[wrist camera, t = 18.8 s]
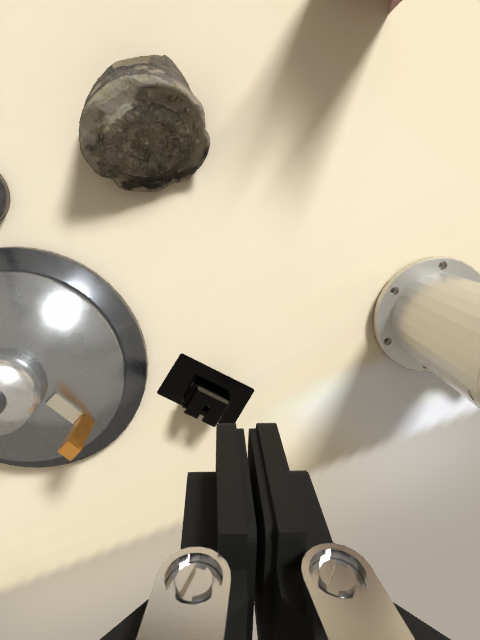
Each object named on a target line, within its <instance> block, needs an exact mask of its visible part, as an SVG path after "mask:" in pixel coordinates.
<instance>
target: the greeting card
mask: <svg viewBox="0 0 480 640" xmlns="http://www.w3.org/2000/svg"><path fill="white" fill-rule="evenodd" d="M401 1H402V0H391V2H390V7H389V13H390V12H391V11H392V10H393V9H394V8H395V7H396V6H397V5H398V4H399V3H400V2H401ZM389 13H388V14H389Z"/></svg>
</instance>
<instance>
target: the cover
mask: <svg viewBox="0 0 480 640" xmlns="http://www.w3.org/2000/svg"><path fill="white" fill-rule="evenodd" d="M47 388H48V381H47V376H46V373H45V371H44V369H43V368H42V366H41V365H40V364H39V362H38V361H37V360H35V359H34V358H33V357H32V356H30V355H29V354H27V353H25V352H22V351H20V350H16V349H10V348H3V349H0V435H4V434H8V433H11V432H13V431H15V430H17V429H18V428H20V427H21V426H22V425H23V424H24V423H25V422H26V421H27V419H28V418H29V417H30V416H31V414H32V413H33V412H34V411H35V409H36V408H37V407H38V406H39V404H40V403H41V402H42V401H43V399H44V398H45V395H46V393H47Z"/></svg>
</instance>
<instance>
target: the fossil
mask: <svg viewBox="0 0 480 640" xmlns="http://www.w3.org/2000/svg"><path fill="white" fill-rule="evenodd" d="M79 123H80V126H79V142H80V149H81V151H82V154H83V156H84V158H85V160H86V161H87V162H88V163H89V164H90V166H91V167H92V168H93V170H94V171H95V172H96V173H97V174H99V175H101V176H103V177H107V178H111V179H113V180H114V181H115V183H116V184H117V185H118V186H119V187H121V188H123V189H124V190H129V191H144V192H152V191H158V190H161V189H163V188H164V187H166V186H168V185H169V184H171V183H173V182H175V181H176V182H180V181H181V180H185V179H188V178H189V177H190V176H191V175H193V174H194V173H195V172H196V171H197V169H198V168H199V167H200V166H201V165H202V163H203V162H204V160H205V159H206V157H207V154H208V151H209V146H210V137H209V135H208V132H207V131H206V129H205V113H204V110H203V107H202V105H201V103H200V102H199V101H198V99H197V98H196V97H195V96H194V95H193V93H192V92H191V90H190V88H189V85H188V83H187V81H186V79H185V78H184V76H183V75H182V73H181V72H180V71H179V69H178V68H177V67H176V65H175V64H174V63H173V61H172V60H171V59H170V58H168V57H167V56H166V55H163V56H159V55H150V56H140V57H136V58H131V59H126V60H121V61H118V62H116V63H114V64H113V65H111V66H110V67H108V68H107V70H106V71H105V72H104V73H103V74H102V76H101V77H99V78H98V80H97V82H96V83H95V84H94V86H93V88H92V90H91V92H90V93H89V95H88V97H87V99H86V102H85V105H84V109H83V111H82V114H81V118H80V122H79Z"/></svg>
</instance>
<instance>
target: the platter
mask: <svg viewBox="0 0 480 640" xmlns="http://www.w3.org/2000/svg"><path fill="white" fill-rule="evenodd" d="M3 348H10V349H16V350H20V351H22V352H25V353H27V354H29V355H30V356H32V357H33V358H34V359H35V360H37V361H38V362H39V364H40V365H41V366H42V368H43V369H44V371H45V373H46V376H47V381H48V388H47V393H46V395H45V398H44V399H43V401H42V402H41V403H40V404H39V406H38V407H37V408H36V409H35V411H34V412H33V413H32V414H31V416H30V417H29V418H28V419H27V421H26V422H25V423H24V424H23V425H22V426H21V427H20V428H18V429H17V430H15V431H13V432H11V433H8V434H4V435H0V458H1V459H6V460H13V461H27V462H34V461H44V460H50V459H55V458H59V457H62V456H64V457H65V458H67V459H68V460H70V461H71V460H72V459H73V458H74V457H75V456H76V455H77V454H78V453H79V452H80V451H81V450H82V448H83V447H84V446H86V445H87V444H89V443H90V442H92V441H93V440H94V439H95V438H96V437H97V436H99V435H100V434H101V433H102V431H103V430H104V429H105V428H106V427H107V426H108V424H109V423H110V421H111V420H112V418H113V417H114V415H115V413H116V410H117V408H118V406H119V404H120V401H121V399H122V396H123V392H124V389H125V383H126V360H125V353H124V350H123V346H122V343H121V340H120V338H119V336H118V334H117V331H116V329H115V328H114V326H113V325H112V323H111V321H110V320H109V318H108V317H107V316H106V315H105V313H104V312H103V311H102V310H101V308H100V307H99V306H98V305H97V304H95V303H94V302H93V301H92V300H91V299H90V298H89V297H88V296H86V295H85V294H84V293H82V292H81V291H80V290H78V289H76V288H75V287H73V286H71V285H69V284H68V283H66V282H64V281H61V280H59V279H57V278H54V277H51V276H48V275H45V274H41V273H37V272H32V271H26V270H0V349H3Z"/></svg>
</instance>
